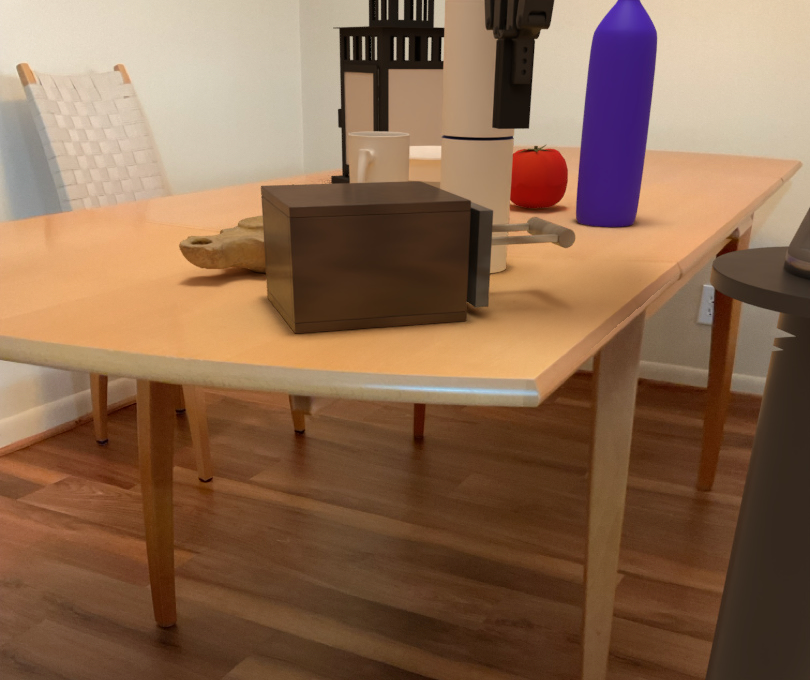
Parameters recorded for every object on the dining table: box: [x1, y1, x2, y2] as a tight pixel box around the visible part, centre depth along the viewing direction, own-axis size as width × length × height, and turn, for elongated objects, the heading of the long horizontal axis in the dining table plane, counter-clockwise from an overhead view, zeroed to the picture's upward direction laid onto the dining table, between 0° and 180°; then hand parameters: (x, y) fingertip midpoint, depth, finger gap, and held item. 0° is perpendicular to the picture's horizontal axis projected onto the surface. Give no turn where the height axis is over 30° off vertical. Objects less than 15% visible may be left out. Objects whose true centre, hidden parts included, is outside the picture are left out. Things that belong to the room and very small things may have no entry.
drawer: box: [467, 202, 576, 309], centre depth 80 cm, size 22×11×8 cm, turn 108°
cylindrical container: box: [440, 0, 515, 274], centre depth 90 cm, size 7×7×25 cm
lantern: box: [330, 0, 444, 184], centre depth 145 cm, size 17×17×35 cm
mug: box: [348, 131, 410, 183], centre depth 101 cm, size 10×7×12 cm, turn 163°
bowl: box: [409, 146, 441, 189], centre depth 121 cm, size 16×16×8 cm
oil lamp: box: [178, 215, 266, 274], centre depth 92 cm, size 11×14×5 cm
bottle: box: [575, 0, 658, 228], centre depth 116 cm, size 8×8×30 cm
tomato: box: [510, 144, 569, 210], centre depth 131 cm, size 9×10×8 cm
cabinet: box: [260, 181, 471, 334], centre depth 78 cm, size 15×13×10 cm
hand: (510, 127), depth 77 cm, fingers closed
